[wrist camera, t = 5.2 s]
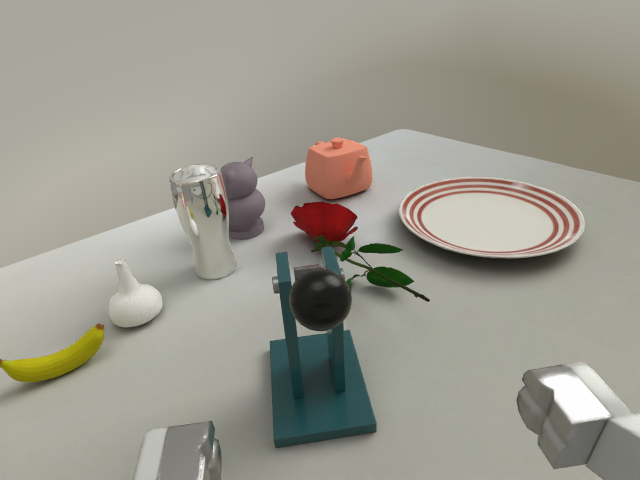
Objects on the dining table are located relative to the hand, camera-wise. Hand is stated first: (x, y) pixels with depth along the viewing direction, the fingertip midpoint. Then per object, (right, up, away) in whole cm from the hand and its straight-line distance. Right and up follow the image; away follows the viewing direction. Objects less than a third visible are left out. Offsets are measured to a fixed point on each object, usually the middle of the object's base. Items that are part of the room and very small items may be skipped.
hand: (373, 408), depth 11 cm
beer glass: (-17, 0, +50) cm, 53 cm away
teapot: (+3, +14, +72) cm, 73 cm away
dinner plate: (+25, +6, +57) cm, 63 cm away
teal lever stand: (-2, -10, +31) cm, 32 cm away
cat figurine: (-14, +6, +60) cm, 62 cm away
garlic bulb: (-24, -5, +42) cm, 49 cm away
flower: (+4, 0, +48) cm, 48 cm away
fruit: (-29, -10, +34) cm, 46 cm away
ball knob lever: (-2, -1, +18) cm, 19 cm away
